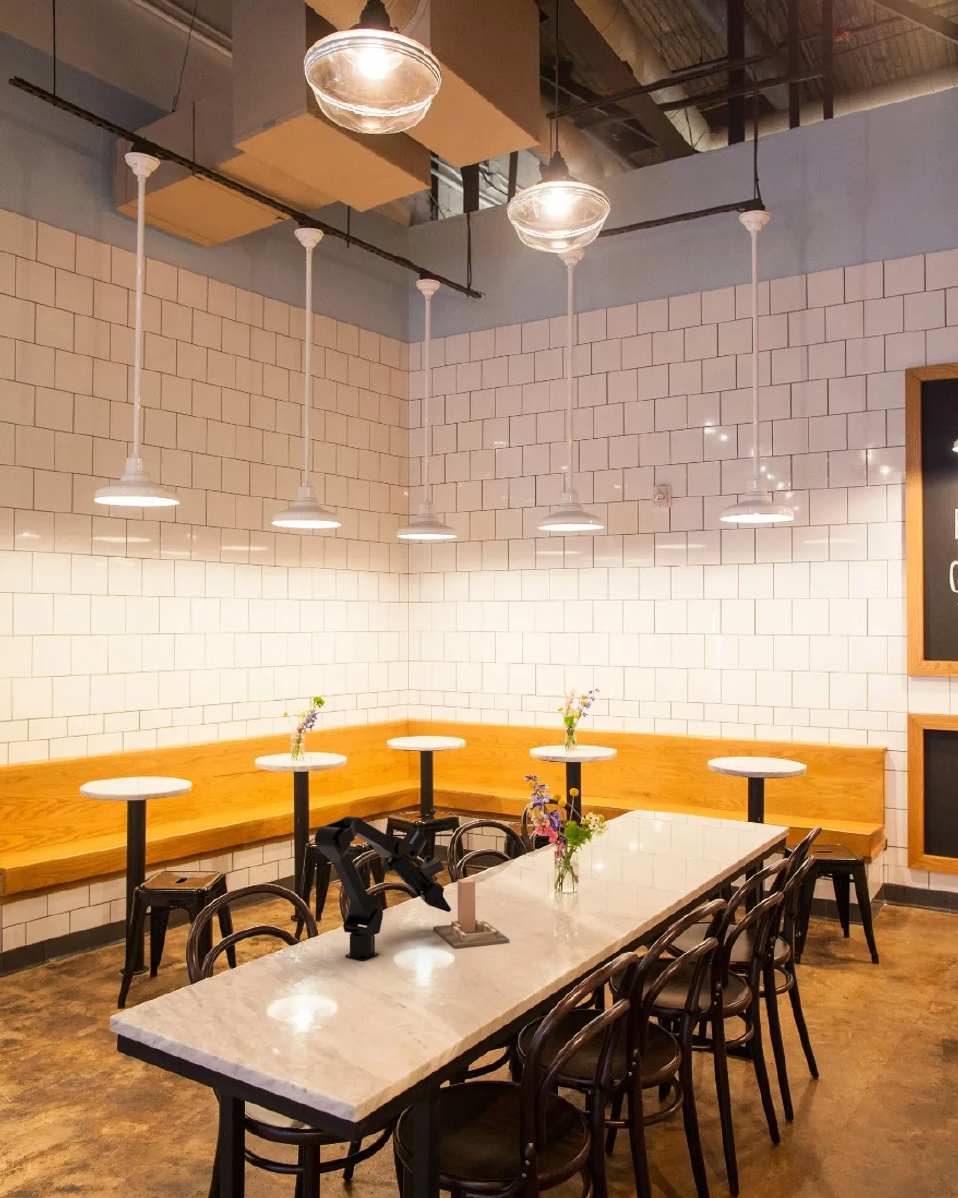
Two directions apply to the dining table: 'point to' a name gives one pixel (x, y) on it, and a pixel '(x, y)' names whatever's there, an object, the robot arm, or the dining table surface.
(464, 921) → the terracotta post
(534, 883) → the dining table surface
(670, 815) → the dining table surface
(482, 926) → the square socket board
